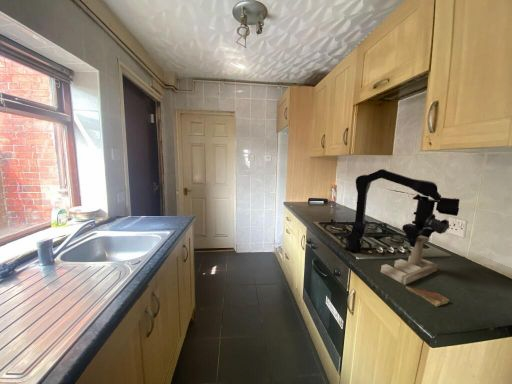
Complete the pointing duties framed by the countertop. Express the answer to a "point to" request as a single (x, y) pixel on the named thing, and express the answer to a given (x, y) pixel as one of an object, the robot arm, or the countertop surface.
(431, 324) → the countertop surface
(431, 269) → the notched rail
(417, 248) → the handle
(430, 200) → the robot arm
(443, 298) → the shard
